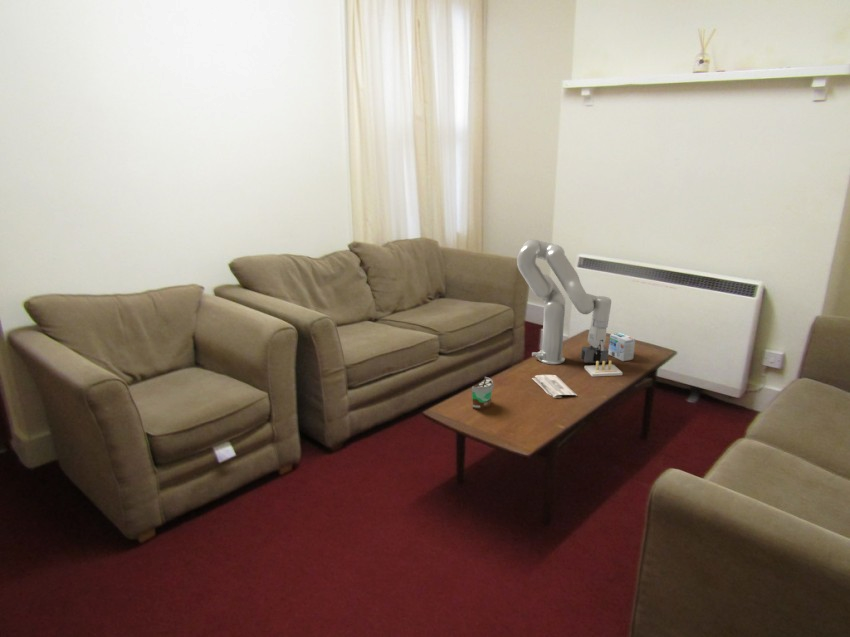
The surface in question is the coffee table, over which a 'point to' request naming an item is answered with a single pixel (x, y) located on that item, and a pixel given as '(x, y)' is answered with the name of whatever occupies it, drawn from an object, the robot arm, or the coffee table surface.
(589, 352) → the block
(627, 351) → the light bulb box
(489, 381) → the food container
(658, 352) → the coffee table surface
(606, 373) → the board
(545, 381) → the newspaper
